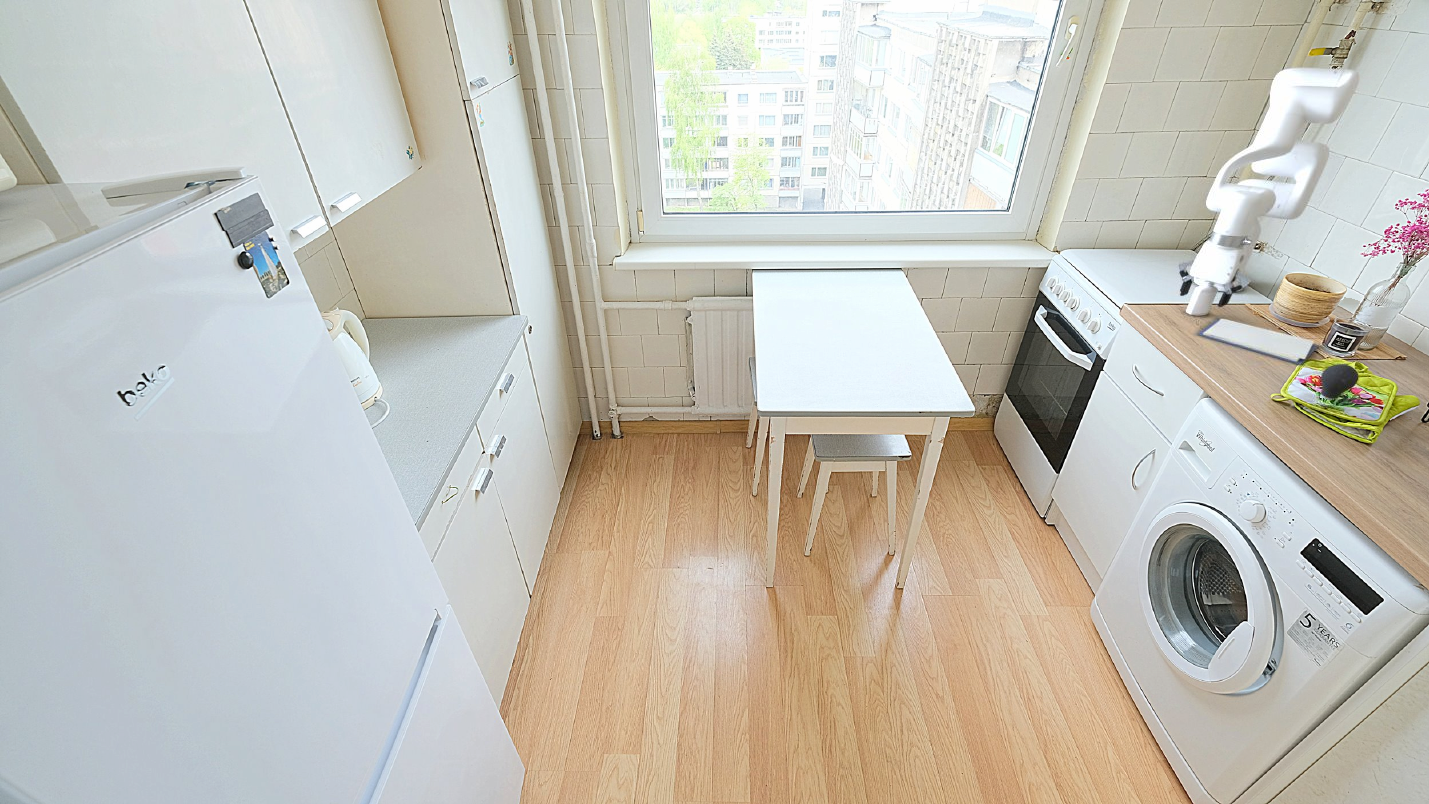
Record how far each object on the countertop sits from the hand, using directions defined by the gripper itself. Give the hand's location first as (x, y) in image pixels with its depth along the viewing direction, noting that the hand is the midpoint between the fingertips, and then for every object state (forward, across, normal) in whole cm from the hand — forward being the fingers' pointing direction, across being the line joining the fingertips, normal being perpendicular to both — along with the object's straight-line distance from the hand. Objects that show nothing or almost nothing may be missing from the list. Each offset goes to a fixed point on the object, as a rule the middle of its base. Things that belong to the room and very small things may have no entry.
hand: (1201, 300), depth 177 cm
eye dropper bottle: (+4, 0, 0) cm, 4 cm away
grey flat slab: (+4, -17, +6) cm, 18 cm away
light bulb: (+5, -39, +31) cm, 50 cm away
